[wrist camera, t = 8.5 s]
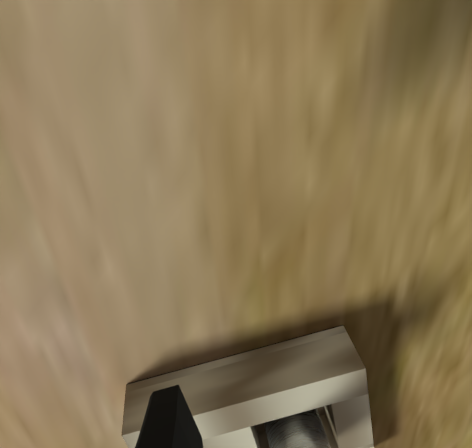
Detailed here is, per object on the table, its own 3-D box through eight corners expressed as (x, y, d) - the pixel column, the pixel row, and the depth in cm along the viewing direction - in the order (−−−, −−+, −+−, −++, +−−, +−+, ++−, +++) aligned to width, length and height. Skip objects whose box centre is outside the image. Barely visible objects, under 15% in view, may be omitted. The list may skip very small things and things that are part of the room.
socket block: (343, 325, 23) (365, 368, 21) (360, 453, 30) (379, 499, 27) (126, 384, 23) (121, 435, 21) (187, 501, 29) (190, 552, 27)
